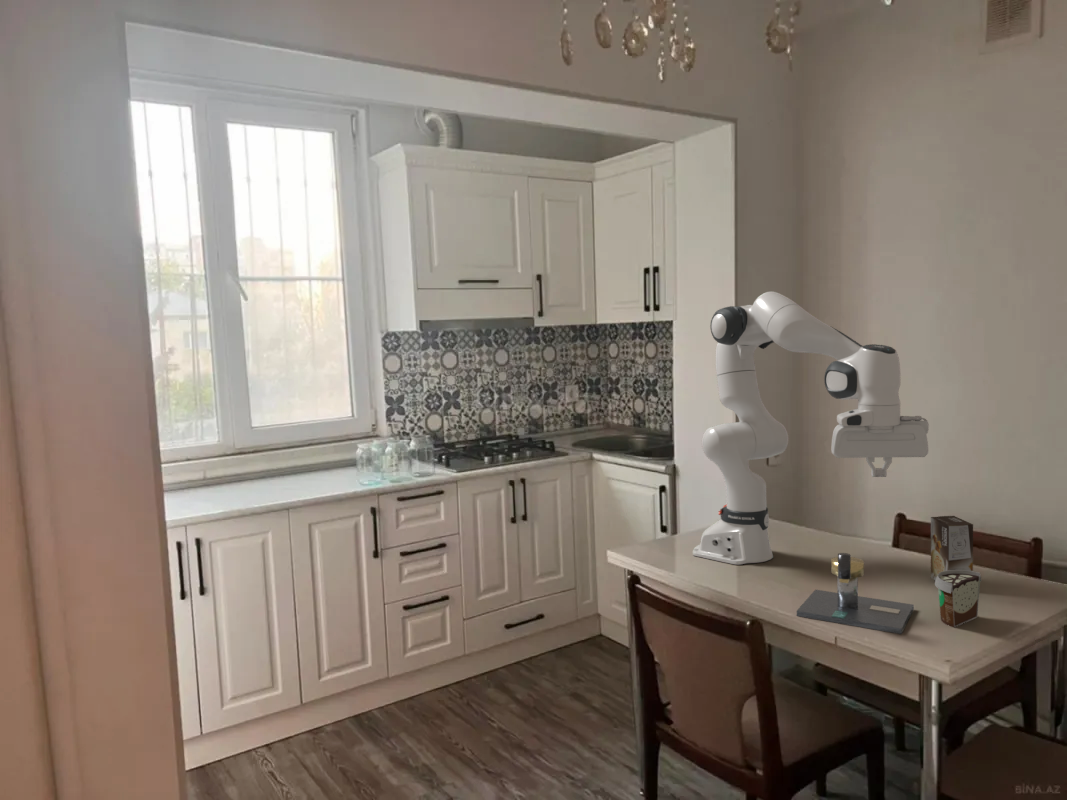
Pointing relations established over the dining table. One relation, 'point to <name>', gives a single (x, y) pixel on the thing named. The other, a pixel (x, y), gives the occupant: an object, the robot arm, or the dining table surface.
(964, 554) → the coffee box
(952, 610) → the food container
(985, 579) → the dining table surface
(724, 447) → the robot arm
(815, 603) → the labelled display base
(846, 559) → the brass crank knob
